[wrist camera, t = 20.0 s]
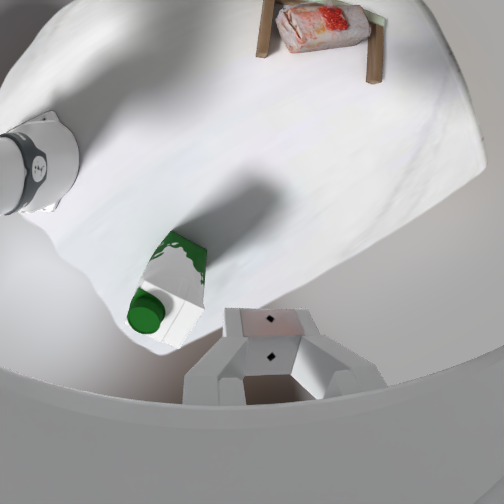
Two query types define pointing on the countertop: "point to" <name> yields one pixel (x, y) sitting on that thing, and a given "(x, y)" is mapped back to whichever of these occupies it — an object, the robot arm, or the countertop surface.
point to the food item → (322, 26)
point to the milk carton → (170, 292)
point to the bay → (374, 20)
